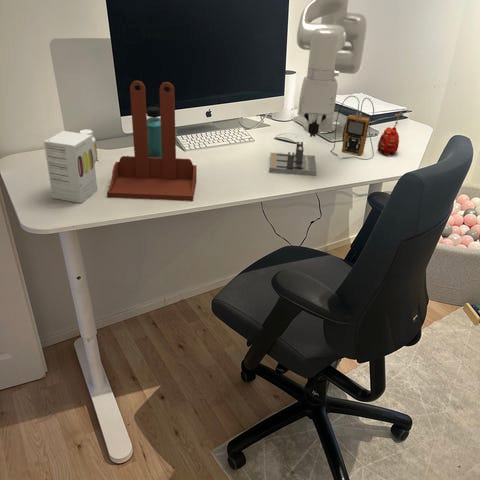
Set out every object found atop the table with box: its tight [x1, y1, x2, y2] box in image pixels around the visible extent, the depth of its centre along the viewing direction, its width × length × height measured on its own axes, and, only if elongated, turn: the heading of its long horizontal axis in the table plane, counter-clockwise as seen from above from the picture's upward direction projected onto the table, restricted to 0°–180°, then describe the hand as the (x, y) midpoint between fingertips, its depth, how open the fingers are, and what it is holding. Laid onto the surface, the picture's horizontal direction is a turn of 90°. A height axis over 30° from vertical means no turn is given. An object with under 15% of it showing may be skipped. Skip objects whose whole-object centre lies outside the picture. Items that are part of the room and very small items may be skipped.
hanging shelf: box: [106, 80, 198, 202], centre depth 144 cm, size 24×13×30 cm, turn 90°
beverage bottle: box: [146, 106, 162, 158], centre depth 158 cm, size 6×7×20 cm
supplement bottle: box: [78, 129, 98, 163], centre depth 165 cm, size 5×5×10 cm
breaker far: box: [295, 140, 304, 154], centre depth 173 cm, size 2×2×5 cm
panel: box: [268, 152, 318, 177], centre depth 170 cm, size 13×15×2 cm
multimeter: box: [330, 95, 375, 161], centre depth 175 cm, size 15×10×20 cm
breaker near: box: [287, 151, 295, 168], centre depth 164 cm, size 2×2×5 cm
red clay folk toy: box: [377, 110, 402, 157], centre depth 181 cm, size 8×7×15 cm
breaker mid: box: [295, 146, 304, 163], centre depth 168 cm, size 2×2×5 cm
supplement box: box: [43, 130, 98, 204], centre depth 142 cm, size 10×9×17 cm
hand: (312, 135), depth 159 cm, fingers closed
